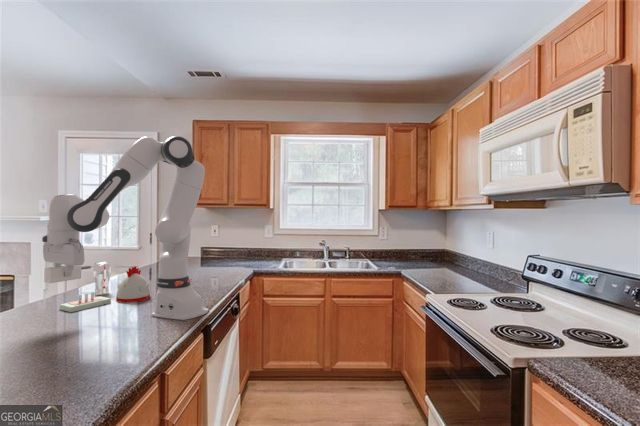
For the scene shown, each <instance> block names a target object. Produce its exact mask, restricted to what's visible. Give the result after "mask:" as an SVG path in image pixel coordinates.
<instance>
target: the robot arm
mask: <svg viewBox="0 0 640 426" xmlns="http://www.w3.org/2000/svg"><path fill="white" fill-rule="evenodd" d="M193 151H194V150H193V147H192V144H191V143H190V141H189V140H188V139H186V138H185V137H183V136H179V135H173V136H170V137H168V138H167V139H166V140H165V141H163V142H160V141H158V140H157V139H154V138H152V137H149V136H143V137H141V138H139V139H137V140H136V141H135V142H134V143H133V144H132V145H130V146H129V148H127V150H126V151H125V152H124V153H123V155H121V157H120V158H119V160H118V161H117V162H116V164H115V165H114V167H113V169H112V170H111V171H110V173H109V174H108V175H107V176H106V178H105V179H104V180H103V181H102V182H101V183H100V185H99V186H97V188H96V189H95V190H94V191H93V192H92V194H90V195H89V197H87V198H86V199H84V198H82V197H80V196H78V194H75V193H67V194H66V193H65V194H59V195H55V196H53V197H52V198H51V201H50V204H49V211H48V212H49V214H48V218H49V222H50V226H49V227H48V228H49V229H48V233H47V234H45V235H43V236H42V237H41V242H42V243H43V245H42V254H43V256H42V257H43V260H44V262H45V263H47V262H48V263H53V267H57V266H63V265H64V266H65V267H66V271H65V272H64V276H65V277H70V276H71V275H72V270H73V268H74V266H78V265H81V266H83V265H85V264H84V263H85V248H84V245H83V244H82V242H81V241H80V233H90V232H92V231H94V230H97V229H101V228H102V227H103V226H105V225H106V224H107V223H108V222H109V219H110V213H109V211H108V210H107V207H108V206H109V205H110V204H112V202H113V201H114V200H115V198H116V197H117V196H118V195H119V194H120V193H121V192H122V191H124V190H125V189H127V188H129V187H132V186H135V185H137V184H140V183H141V181H142V180H144V179H145V178H146V177H147V176H148V174H150V172H151V171H153V169H154V167H155V166H156V165H157V164H159V162H163V163H166V164H168V165H173V166H174V167H176V176H175V180H174V182H173V184H172V188H171V191H170V194H169V197H168V200H167V203H166V204H165V207H164V209H163V211H162V213H161V216H160V218H159V220H158V223H157V224H156V227H155V230H154V235H155V237H156V239H157V241H159V242H160V243H161V249H160V253H159V258H158V277H157V279H156V285H157V292H156V293H155V298H154V306H153V311H152V312H151V317H154V318H155V317H156V318H164V319H172V320H180V321H181V320H182V321H183V320H191V319H195V318H197V317H201V316H203V315H205V314H207V313H209V308H208V307H205V306H203V305H204V304H203V298H202V296H201V295H200V294H199V293H198V292H197V291H196V290H195V289H194V288H193V287H192V286H191V283H192V282H193V279H192V278H189V275H188V267H189V266H188V264H189V253H190V252H189V251H190V242H191V230H192V227H191V224H190V222H191V219H192V218H193V215H194V212H195V210H196V208H197V205H198V203H199V199H200V196H201V192H202V190H203V186H204V181H205V173H206V169H205V168H206V167H205V166H204V165H203V164H202V162H200V161H197V160H195V156H194V155H195V154H194V152H193Z"/></svg>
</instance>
